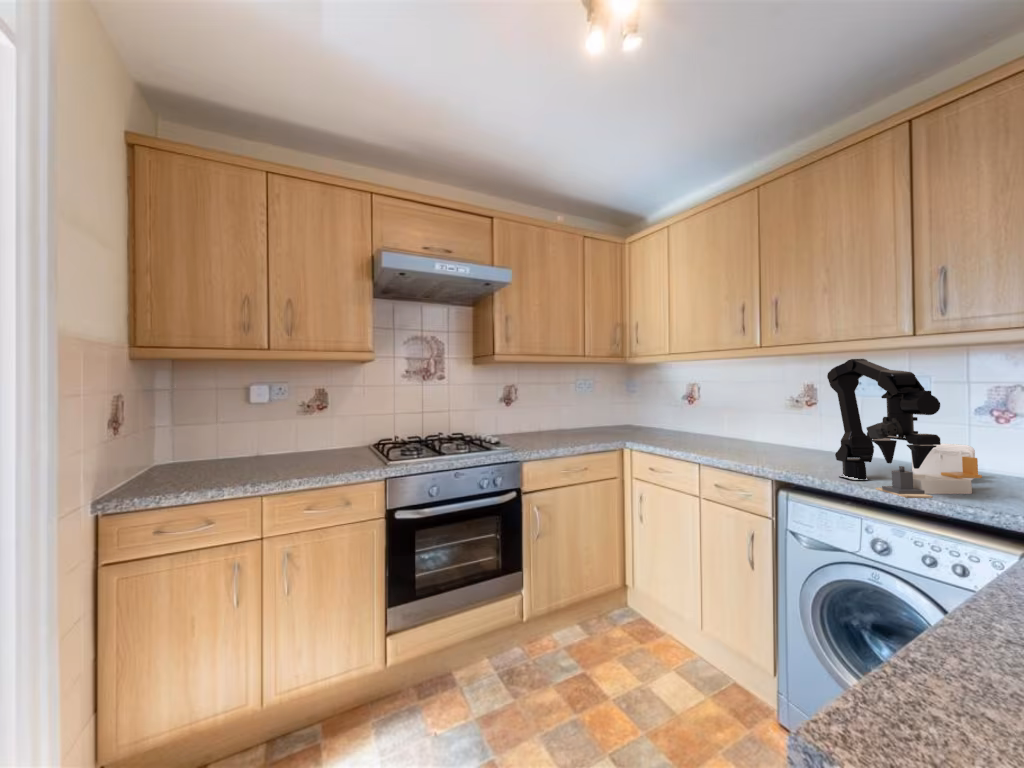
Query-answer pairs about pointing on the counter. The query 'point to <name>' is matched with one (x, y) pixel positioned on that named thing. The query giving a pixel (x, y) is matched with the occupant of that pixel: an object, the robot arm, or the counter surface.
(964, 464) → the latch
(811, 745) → the counter surface
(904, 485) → the plug
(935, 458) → the cable organizer
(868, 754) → the counter surface
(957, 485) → the white recessed block
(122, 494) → the counter surface
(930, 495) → the cork pad
